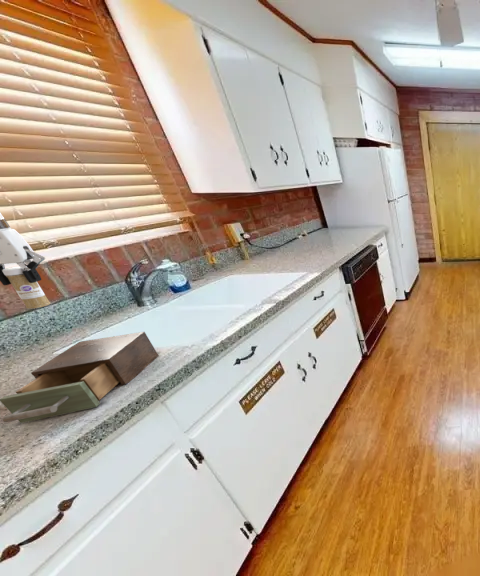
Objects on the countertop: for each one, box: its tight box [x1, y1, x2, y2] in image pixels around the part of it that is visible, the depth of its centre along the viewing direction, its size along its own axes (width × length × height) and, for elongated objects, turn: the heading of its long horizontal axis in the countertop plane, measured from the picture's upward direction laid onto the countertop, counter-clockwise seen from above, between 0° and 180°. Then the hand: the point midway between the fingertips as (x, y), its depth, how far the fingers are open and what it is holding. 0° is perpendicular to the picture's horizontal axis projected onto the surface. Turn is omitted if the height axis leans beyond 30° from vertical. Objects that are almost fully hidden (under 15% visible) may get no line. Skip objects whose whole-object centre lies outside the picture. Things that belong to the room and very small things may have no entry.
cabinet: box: [30, 331, 159, 388], centre depth 83 cm, size 15×14×9 cm
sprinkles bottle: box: [2, 266, 51, 310], centre depth 95 cm, size 5×5×13 cm
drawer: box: [0, 362, 120, 424], centre depth 73 cm, size 18×12×7 cm
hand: (23, 282), depth 94 cm, fingers closed on sprinkles bottle, 4 cm apart
